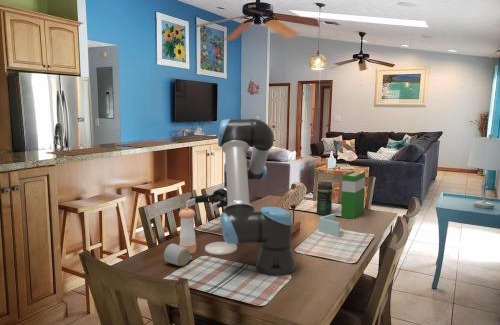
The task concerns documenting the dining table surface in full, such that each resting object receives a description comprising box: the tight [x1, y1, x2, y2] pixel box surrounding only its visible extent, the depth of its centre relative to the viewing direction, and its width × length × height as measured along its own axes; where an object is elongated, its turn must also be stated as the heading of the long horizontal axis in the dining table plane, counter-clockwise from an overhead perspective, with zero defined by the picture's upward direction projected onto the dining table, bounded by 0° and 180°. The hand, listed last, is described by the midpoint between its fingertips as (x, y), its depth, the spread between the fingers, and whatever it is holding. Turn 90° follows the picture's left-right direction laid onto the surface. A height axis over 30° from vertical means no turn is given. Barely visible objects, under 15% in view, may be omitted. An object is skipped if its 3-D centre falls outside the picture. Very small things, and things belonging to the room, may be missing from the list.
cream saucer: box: [204, 241, 238, 256], centre depth 170 cm, size 14×14×1 cm
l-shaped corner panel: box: [318, 213, 344, 238], centre depth 193 cm, size 12×12×8 cm
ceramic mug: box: [163, 243, 193, 267], centre depth 155 cm, size 11×8×8 cm
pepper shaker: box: [178, 207, 197, 254], centre depth 167 cm, size 7×7×19 cm
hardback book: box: [340, 170, 366, 220], centre depth 223 cm, size 18×7×24 cm, turn 147°
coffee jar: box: [316, 181, 333, 217], centre depth 225 cm, size 10×8×19 cm
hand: (199, 206), depth 175 cm, fingers open, 13 cm apart
